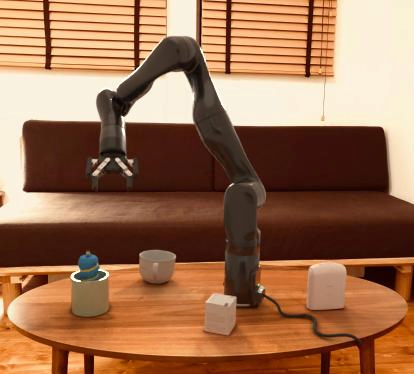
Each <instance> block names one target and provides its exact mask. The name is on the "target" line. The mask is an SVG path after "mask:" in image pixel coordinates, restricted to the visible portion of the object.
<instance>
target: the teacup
mask: <svg viewBox="0 0 414 374" xmlns="http://www.w3.org/2000/svg"><path fill="white" fill-rule="evenodd" d="M176 258H177V255H176V254H175V253H173V252H171V251H168V250H161V249H149V250H144V251H142V252H140V253H139V261H138V262H139V263H138V269H139V272H138V273H139V275H140V277H141V278H142V279H144V281H145V282H147V283H150V284H164V283H166V282H168V281H169V280H170V279H172V277H173V276H174V274H175V268H176V260H177V259H176Z"/></svg>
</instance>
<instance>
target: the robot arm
mask: <svg viewBox="0 0 414 374" xmlns="http://www.w3.org/2000/svg"><path fill="white" fill-rule="evenodd" d="M181 72H182V73H183V74H184V76H185V77H186V79H187V83H188V84H189V86H190V89H191V93H192V105H191V117H192V121H193V125H194V127H195V129H196V131H197V133H198V136H199V138H200V140H201V142H202V144H203V145H204V146H205V148H206V149H207V150H208V151H209V153H210V154H211V155H212V156H213V157H214V158H215V159H216V160H217V162H219V164H220V165H221V167H222V168H223V170H224V171H225V174H226V175H227V178H228V180H229V182H230V185H229V186H228V187H227V188H226V190H225V192H224V195H223V205H222V206H223V208H222V209H223V213H222V214H223V229H224V232H225V247H224V248H225V249H224V250H225V251H224V273H223V274H224V277H223V283H222V284H223V285H222V286H223V295H228V296H234V297H237V298H236V308H255V307H256V305H257V304H258V303H260V304H261V303H262V302H263V300H264V299H266V300H267V301H270V302H271V303H273V304H274V305H275V307H276V309H277V311H278V314H280V315H281V316H283V317H285V318H304V317H305V318H309V319H310V320H312V321H313V324H312V330H313V332H314V333H315V334H316V335H317V336H319V337H322V338H327V339H330V338H331V339H333V338H350V339H352V340H354V341H356V343H358V344H360V345H362V344H363V342H362V340H361V339H360V338H359V337H357V336H356V335H354V334H353V333H352V334H351V333H347V332H345V333H344V332H340V333H323V332H320V331H319V330H318V329H317V324H318V319H316V317H315V316H314V315H312V314H309V313H293V314H290V313H286V312H284V311H282V309H281V306H280V304H279V302H278V301H276V300H275V299H274V298H272V297H271V296H269V295H268V294H266V286H262V285H261V280H262V279H261V277H262V266H261V265H260V256H261V240H262V239H261V237H262V231H261V229H260V228H259V227H258V211H260V210H261V209H262V208H263V207H264V206H265V204H266V200H267V193H266V189H265V187H264V185H263V183H262V181H261V179H260V178H259V175H258V174H257V172H256V171H255V170H254V167H253V166H252V164H251V162H250V160H249V159H248V157H247V154H246V153H245V149H244V148H243V145H242V143H241V140H240V138H239V136H238V134H237V132H236V130H235V127H234V125H233V123H232V120H231V118H230V116H229V114H228V112H227V110H226V108H225V105H224V104H223V101H222V99H221V96H220V95H219V93H218V90H217V87H216V85H215V83H214V80H213V78H212V76H211V73H210V69H209V67H208V65H207V62H206V58H205V56H204V52H203V50H202V48H201V45H200V44H199V42H198V41H197V40H196V39H195V38H193V37H192V36H189V35H188V36H187V35H169V36H166V37H164V38H162V39H161V40H160V42H158V43H157V45H156V46H155V47H154V48H153V50H152V51H151V52H150V53H149V55H148V56H147V57H146V58H145V60H144V61H143V62H141V64H140V65H139V67H137V68H136V70H134V71H133V72H131V73H130V75H128V76H127V77H125V78H124V79H123V80H122V81H121V82H119V84H118V85H117V87H116V91H115V90H113V89H111V88H109V87H108V88H107V87H105V88H102V89H100V91H98V93H97V95H96V99H95V106H96V111H97V113H98V117H99V120H100V123H101V124H100V135H99V152H98V153H99V155H98V158H93V157H91V156H88V157H87V160H86V167H85V178H86V179H87V180H91V188H92V190H93V191H94V192H98V191H99V179H100V178H101V177H103V176H104V175H105V174H107V175H112V174H113V175H119V174H120V175H121V176H122V177H123V178H125V179H126V192H130V191H131V190H133V180H139V178H140V176H139V174H140V171H139V160H138V157H135V156H134V157H133V158H132V159H128V157H127V136H126V135H127V134H126V120H125V117H127V116H128V114H129V113H130V111H131V109H132V108H133V107H134V105H135V103H136V102H137V101H139V100H140V99H142V98H143V97H144V96H146V95H147V94H148V93H149V92H150V91H151V90H152V88H153V86H154V82H155V81H156V80H157V79H159V78H160V77H162V76H164V75H167V74H169V73H181ZM96 165H97V168H96V169H95V170H94V172H92V170H93V168H95V166H96ZM128 166H130V167H131V168H132V169H133V172H132V171H130V170H129V168H128Z"/></svg>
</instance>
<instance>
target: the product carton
mask: <svg viewBox="0 0 414 374" xmlns="http://www.w3.org/2000/svg"><path fill="white" fill-rule="evenodd" d="M236 298H237V297H234V296H228V295H224V294H223V293H222V294H221V293H217V292H213V293H212V294H211V295H210V297H209V298H207V300H206V301H205V302H204V328H203V329H204V332H207V333H212V334H218V335H222V336H229V335H230V334H231V332H232V331H233V329H234V328H235V326H236V321H237V319H236V318H237V307H236Z"/></svg>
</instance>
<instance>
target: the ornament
mask: <svg viewBox="0 0 414 374" xmlns="http://www.w3.org/2000/svg"><path fill="white" fill-rule="evenodd" d="M77 266H78V268H79V271H80V277H81V279H82V281H96V280H98V279H99V275H98V272H99V269H100V268H101V267H100V263H99V258H98V256H96V255H95V254H92V253H91V252H90V251H86V252H85V254H83V255H81V256H80V257H79V258H78V262H77ZM100 270H101V269H100Z"/></svg>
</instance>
